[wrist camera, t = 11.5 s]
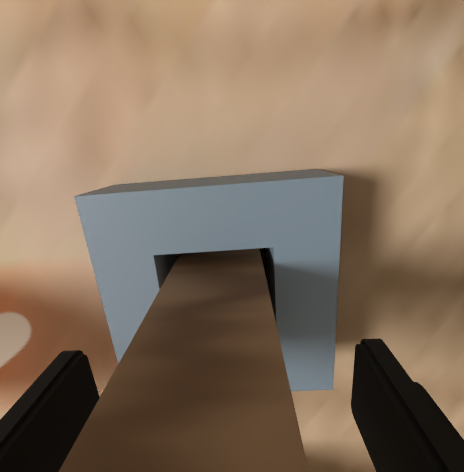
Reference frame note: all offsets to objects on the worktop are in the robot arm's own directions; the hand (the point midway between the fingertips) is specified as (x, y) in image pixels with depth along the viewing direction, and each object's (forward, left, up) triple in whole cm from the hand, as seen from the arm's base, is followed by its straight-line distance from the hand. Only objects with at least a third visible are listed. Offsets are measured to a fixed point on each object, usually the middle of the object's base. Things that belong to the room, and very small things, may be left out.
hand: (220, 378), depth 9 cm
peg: (0, 0, -9) cm, 9 cm away
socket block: (0, 0, -9) cm, 9 cm away
